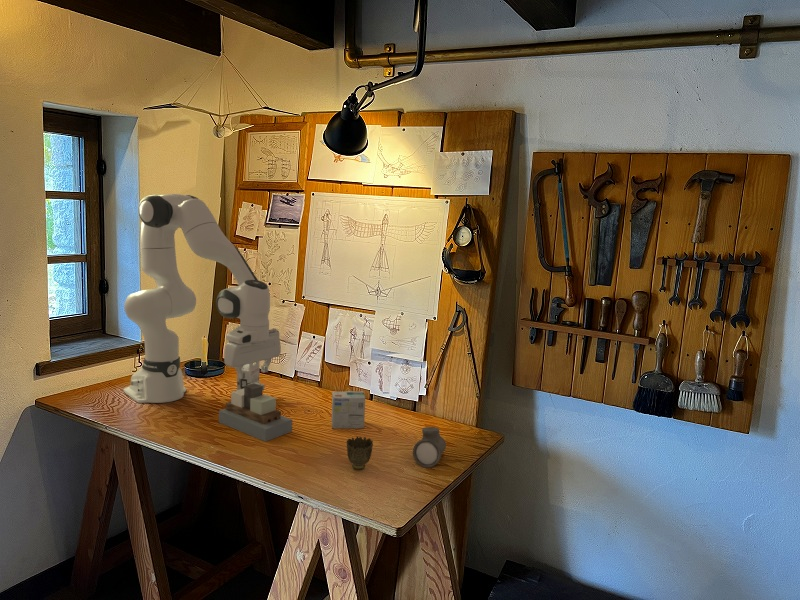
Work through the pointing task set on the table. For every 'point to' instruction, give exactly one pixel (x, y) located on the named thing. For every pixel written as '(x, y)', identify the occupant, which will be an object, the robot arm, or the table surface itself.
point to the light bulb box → (348, 409)
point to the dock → (256, 425)
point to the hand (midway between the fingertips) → (253, 374)
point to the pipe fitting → (429, 447)
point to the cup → (359, 452)
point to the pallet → (251, 414)
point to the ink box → (248, 375)
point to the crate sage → (262, 404)
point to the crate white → (238, 398)
